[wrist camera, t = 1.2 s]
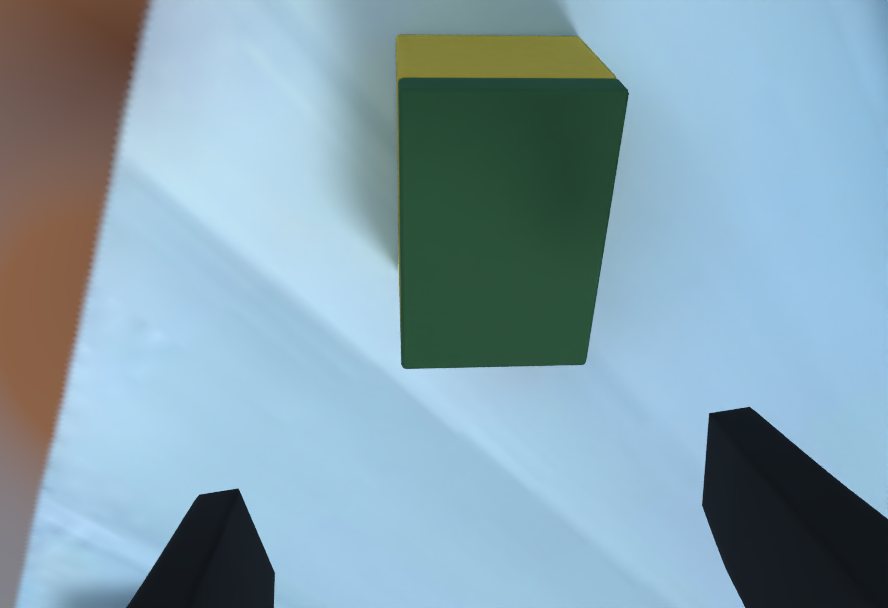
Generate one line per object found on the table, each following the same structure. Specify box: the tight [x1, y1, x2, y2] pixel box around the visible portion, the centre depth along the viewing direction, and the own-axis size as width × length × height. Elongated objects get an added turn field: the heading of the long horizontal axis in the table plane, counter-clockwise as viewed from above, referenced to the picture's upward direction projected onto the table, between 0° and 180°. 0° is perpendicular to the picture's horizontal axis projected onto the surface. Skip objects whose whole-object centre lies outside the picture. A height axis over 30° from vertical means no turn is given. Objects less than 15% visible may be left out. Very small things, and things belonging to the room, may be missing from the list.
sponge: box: [396, 35, 629, 369], centre depth 16 cm, size 4×6×4 cm, turn 179°
